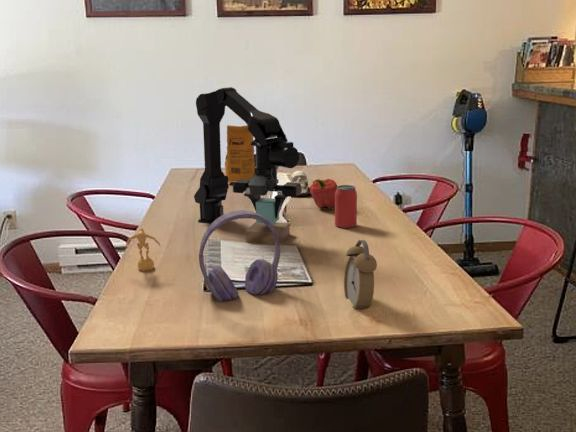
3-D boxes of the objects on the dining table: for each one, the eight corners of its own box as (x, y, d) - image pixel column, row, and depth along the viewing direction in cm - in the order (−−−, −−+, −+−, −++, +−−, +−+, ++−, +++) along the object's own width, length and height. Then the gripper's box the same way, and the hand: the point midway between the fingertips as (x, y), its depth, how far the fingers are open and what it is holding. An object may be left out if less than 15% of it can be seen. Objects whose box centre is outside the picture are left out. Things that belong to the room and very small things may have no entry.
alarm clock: (341, 297, 141) (342, 233, 137) (363, 295, 142) (364, 231, 138) (356, 319, 130) (357, 250, 126) (379, 317, 131) (381, 248, 127)
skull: (320, 192, 227) (299, 173, 224) (300, 212, 230) (279, 194, 227) (317, 181, 238) (298, 163, 235) (298, 200, 241) (278, 183, 238)
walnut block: (246, 244, 178) (245, 231, 177) (256, 234, 187) (256, 221, 186) (280, 247, 176) (280, 233, 175) (289, 236, 185) (289, 223, 184)
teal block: (256, 222, 178) (255, 202, 177) (262, 217, 183) (262, 197, 181) (273, 224, 177) (272, 203, 175) (279, 219, 181) (278, 198, 180)
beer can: (355, 229, 189) (356, 190, 186) (333, 228, 191) (333, 189, 187) (357, 222, 196) (358, 185, 192) (336, 222, 197) (336, 184, 193)
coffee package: (226, 177, 260) (224, 123, 254) (256, 176, 260) (255, 122, 254) (224, 182, 250) (221, 126, 244) (255, 182, 250) (254, 126, 244)
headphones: (207, 313, 134) (202, 222, 129) (197, 298, 142) (192, 212, 136) (287, 298, 141) (285, 211, 136) (273, 285, 148) (271, 202, 143)
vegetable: (323, 212, 207) (323, 183, 204) (301, 206, 214) (301, 177, 212) (346, 206, 214) (347, 177, 211) (325, 201, 221) (325, 172, 218)
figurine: (164, 268, 160) (161, 223, 156) (161, 277, 154) (157, 230, 151) (131, 269, 159) (127, 224, 156) (126, 278, 154) (122, 231, 150)
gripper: (223, 167, 171) (225, 222, 175) (289, 170, 165) (290, 228, 169) (239, 159, 181) (241, 211, 185) (302, 162, 175) (302, 217, 180)
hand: (267, 217), depth 180 cm, fingers closed on teal block, 5 cm apart
